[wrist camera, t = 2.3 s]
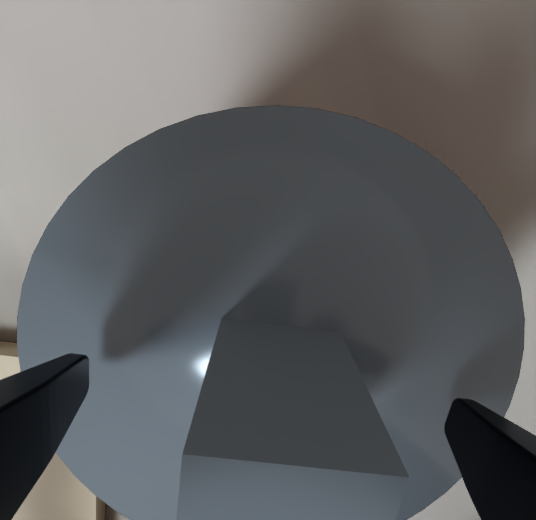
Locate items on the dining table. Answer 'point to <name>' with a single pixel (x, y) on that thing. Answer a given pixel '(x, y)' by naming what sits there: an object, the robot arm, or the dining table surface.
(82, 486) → the board
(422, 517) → the dining table surface
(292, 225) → the lid
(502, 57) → the dining table surface
